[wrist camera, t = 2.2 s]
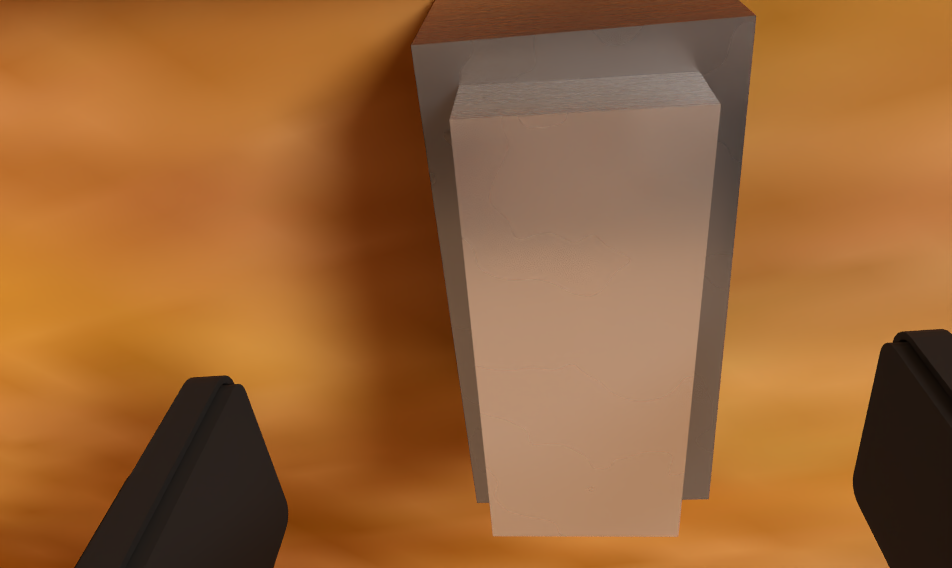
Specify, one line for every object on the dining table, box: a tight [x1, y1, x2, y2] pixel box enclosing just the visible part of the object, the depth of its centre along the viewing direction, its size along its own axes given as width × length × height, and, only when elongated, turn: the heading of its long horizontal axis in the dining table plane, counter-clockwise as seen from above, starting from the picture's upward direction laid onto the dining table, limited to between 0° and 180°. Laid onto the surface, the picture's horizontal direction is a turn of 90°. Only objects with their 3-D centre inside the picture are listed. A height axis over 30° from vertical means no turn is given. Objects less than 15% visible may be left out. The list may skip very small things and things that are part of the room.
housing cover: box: [450, 71, 721, 537], centre depth 13 cm, size 4×9×2 cm, turn 5°
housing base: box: [411, 0, 756, 503], centre depth 15 cm, size 5×10×4 cm, turn 6°
